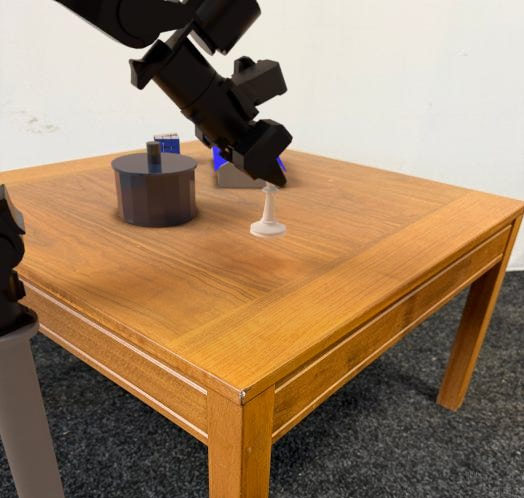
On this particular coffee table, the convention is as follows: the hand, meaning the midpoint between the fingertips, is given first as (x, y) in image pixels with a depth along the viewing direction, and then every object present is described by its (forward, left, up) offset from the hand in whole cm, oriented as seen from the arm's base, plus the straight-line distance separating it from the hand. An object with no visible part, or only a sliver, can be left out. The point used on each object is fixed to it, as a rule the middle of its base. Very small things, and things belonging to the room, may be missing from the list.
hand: (280, 182), depth 71 cm
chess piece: (-1, +1, -7) cm, 7 cm away
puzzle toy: (+30, +50, -11) cm, 59 cm away
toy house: (+35, +32, -11) cm, 48 cm away
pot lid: (+4, +27, -3) cm, 27 cm away
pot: (+4, +27, -11) cm, 29 cm away
